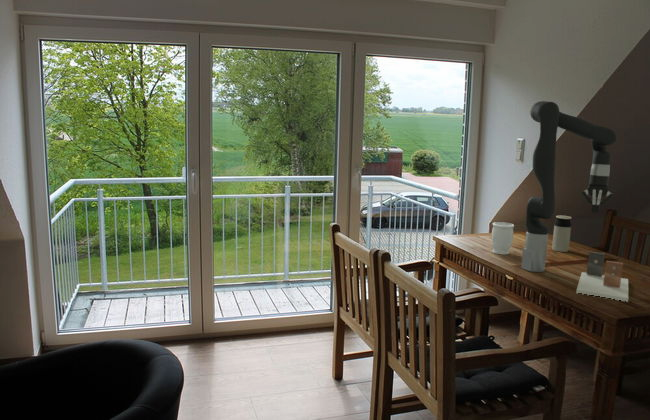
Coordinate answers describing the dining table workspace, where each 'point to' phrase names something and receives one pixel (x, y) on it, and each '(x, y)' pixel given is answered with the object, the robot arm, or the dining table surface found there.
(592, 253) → the tile one dot
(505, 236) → the jar
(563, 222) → the travel mug
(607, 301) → the dining table surface
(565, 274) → the dining table surface
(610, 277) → the tile two dots
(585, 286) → the board
